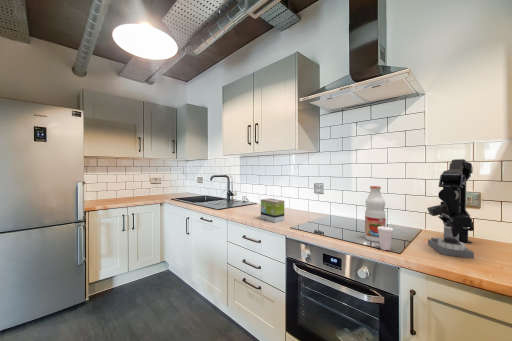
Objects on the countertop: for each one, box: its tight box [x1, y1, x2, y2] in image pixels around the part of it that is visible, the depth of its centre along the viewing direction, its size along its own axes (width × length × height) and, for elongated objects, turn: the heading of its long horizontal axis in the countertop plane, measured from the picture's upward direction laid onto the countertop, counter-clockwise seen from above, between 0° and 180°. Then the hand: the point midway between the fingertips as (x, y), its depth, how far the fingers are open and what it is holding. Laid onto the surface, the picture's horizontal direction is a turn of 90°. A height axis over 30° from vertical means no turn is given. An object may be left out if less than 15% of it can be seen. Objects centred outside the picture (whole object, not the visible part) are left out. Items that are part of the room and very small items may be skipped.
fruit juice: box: [364, 185, 386, 243], centre depth 114 cm, size 9×9×28 cm
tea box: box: [260, 198, 285, 224], centre depth 157 cm, size 15×10×15 cm, turn 42°
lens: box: [443, 222, 459, 243], centre depth 97 cm, size 5×5×8 cm
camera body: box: [427, 236, 475, 259], centre depth 99 cm, size 14×11×4 cm
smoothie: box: [378, 217, 394, 251], centre depth 100 cm, size 6×6×14 cm
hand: (451, 235), depth 97 cm, fingers closed on lens, 5 cm apart
